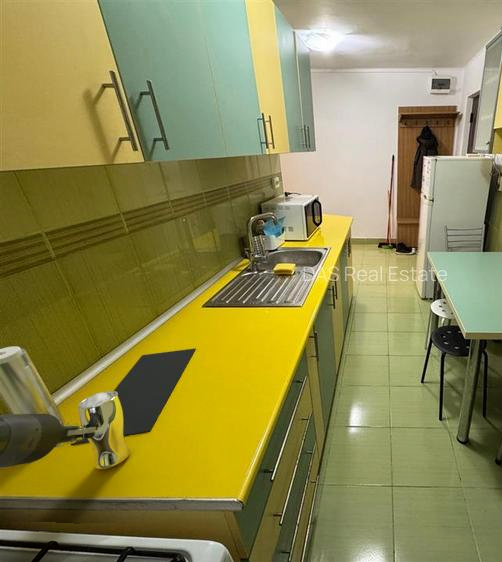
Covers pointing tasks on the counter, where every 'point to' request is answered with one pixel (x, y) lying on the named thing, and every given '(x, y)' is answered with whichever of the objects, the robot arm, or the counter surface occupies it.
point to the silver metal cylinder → (24, 385)
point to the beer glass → (105, 428)
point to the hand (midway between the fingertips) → (90, 432)
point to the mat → (149, 389)
